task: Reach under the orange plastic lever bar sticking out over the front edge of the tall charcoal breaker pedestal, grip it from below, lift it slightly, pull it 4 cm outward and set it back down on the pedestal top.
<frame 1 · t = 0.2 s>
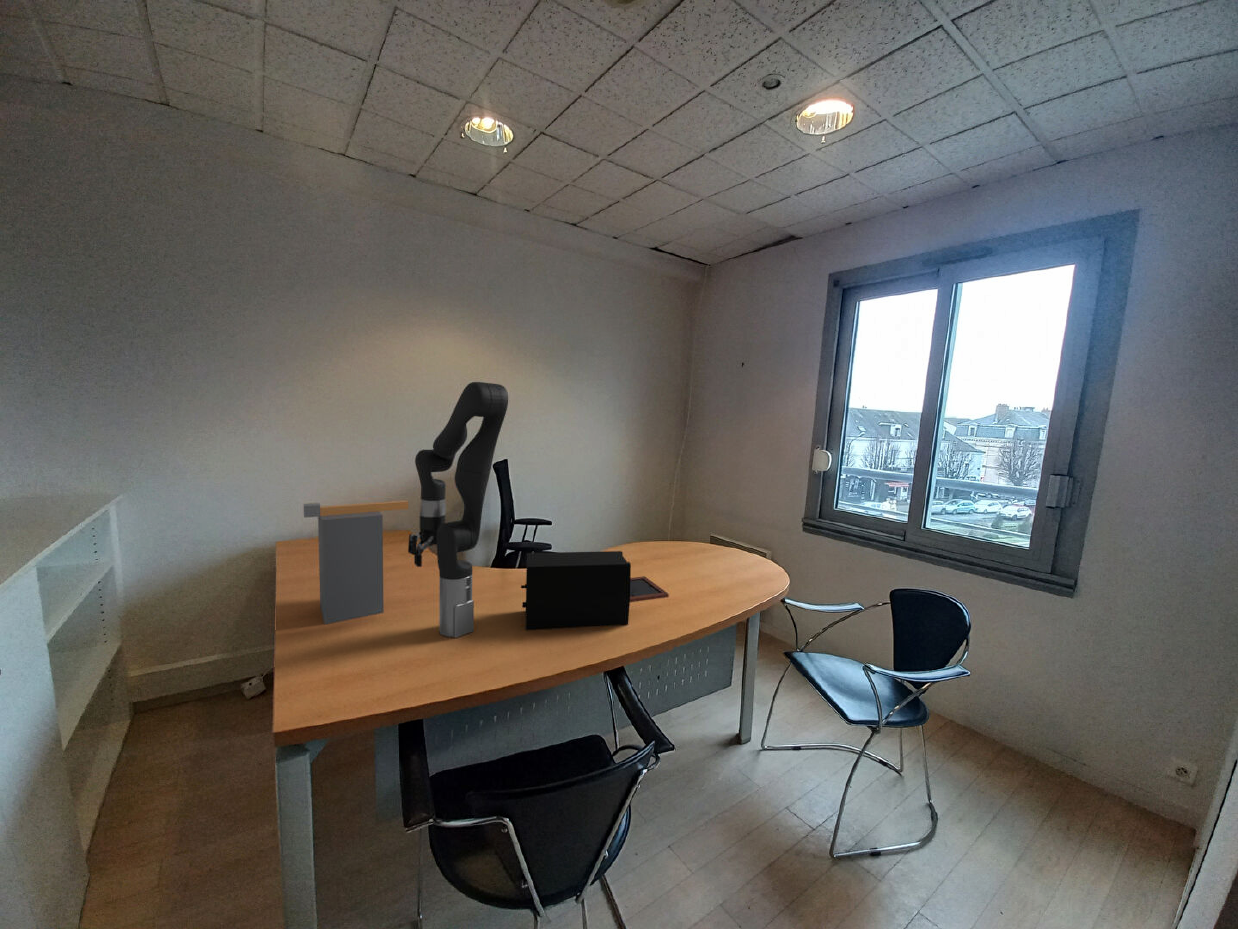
hand: (431, 563, 142), 18 cm above the table, tool pointing down, fingers open, 8 cm apart
picture frame: (627, 593, 172), on the table
breaker pedestal: (351, 609, 146), on the table
lever bar: (358, 512, 145), point 32 cm above the table, touching breaker pedestal
uninterruptible power supply: (573, 618, 147), on the table
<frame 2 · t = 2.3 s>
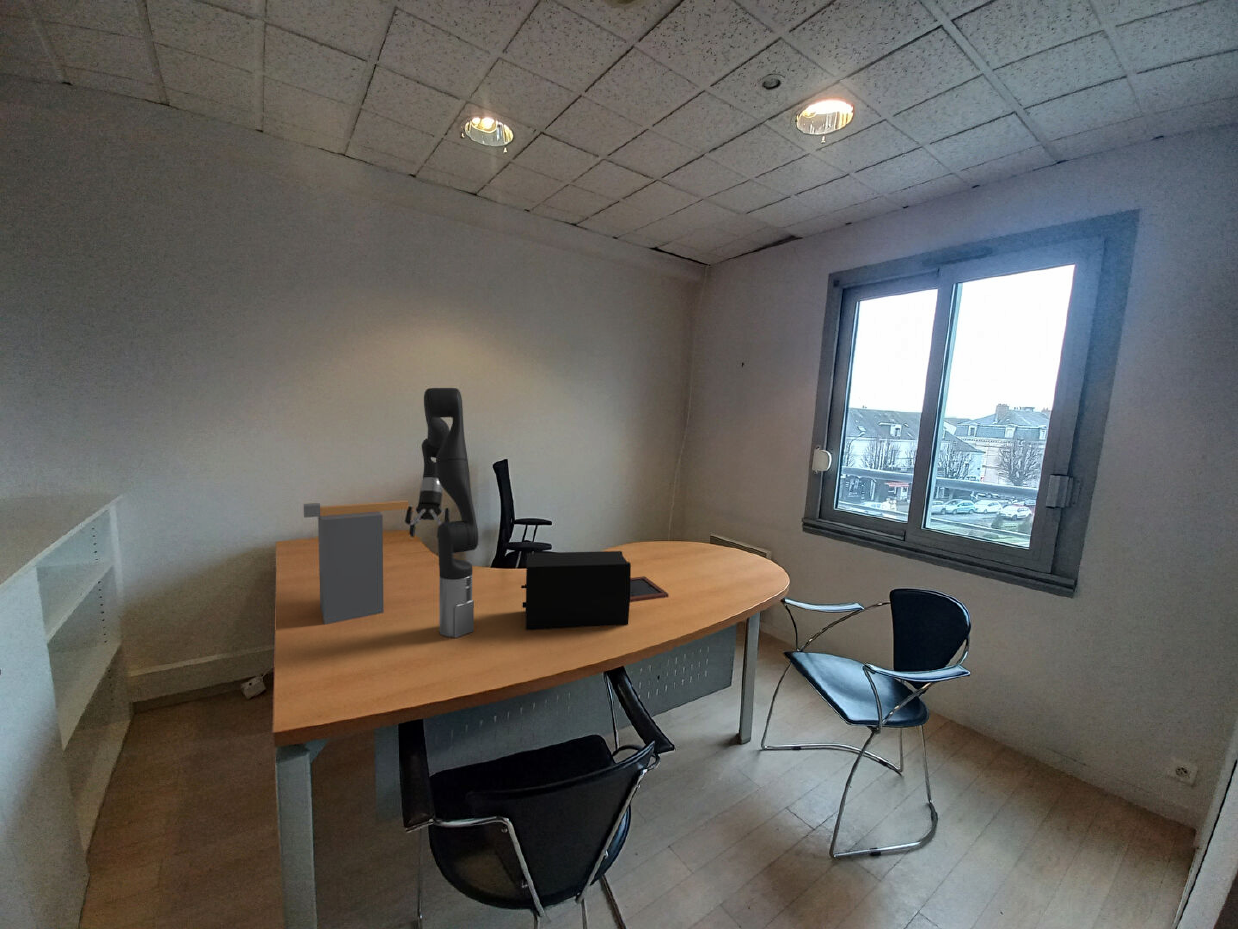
hand: (425, 537, 157), 22 cm above the table, tool tilted 20°, fingers open, 8 cm apart
nothing on the table moved.
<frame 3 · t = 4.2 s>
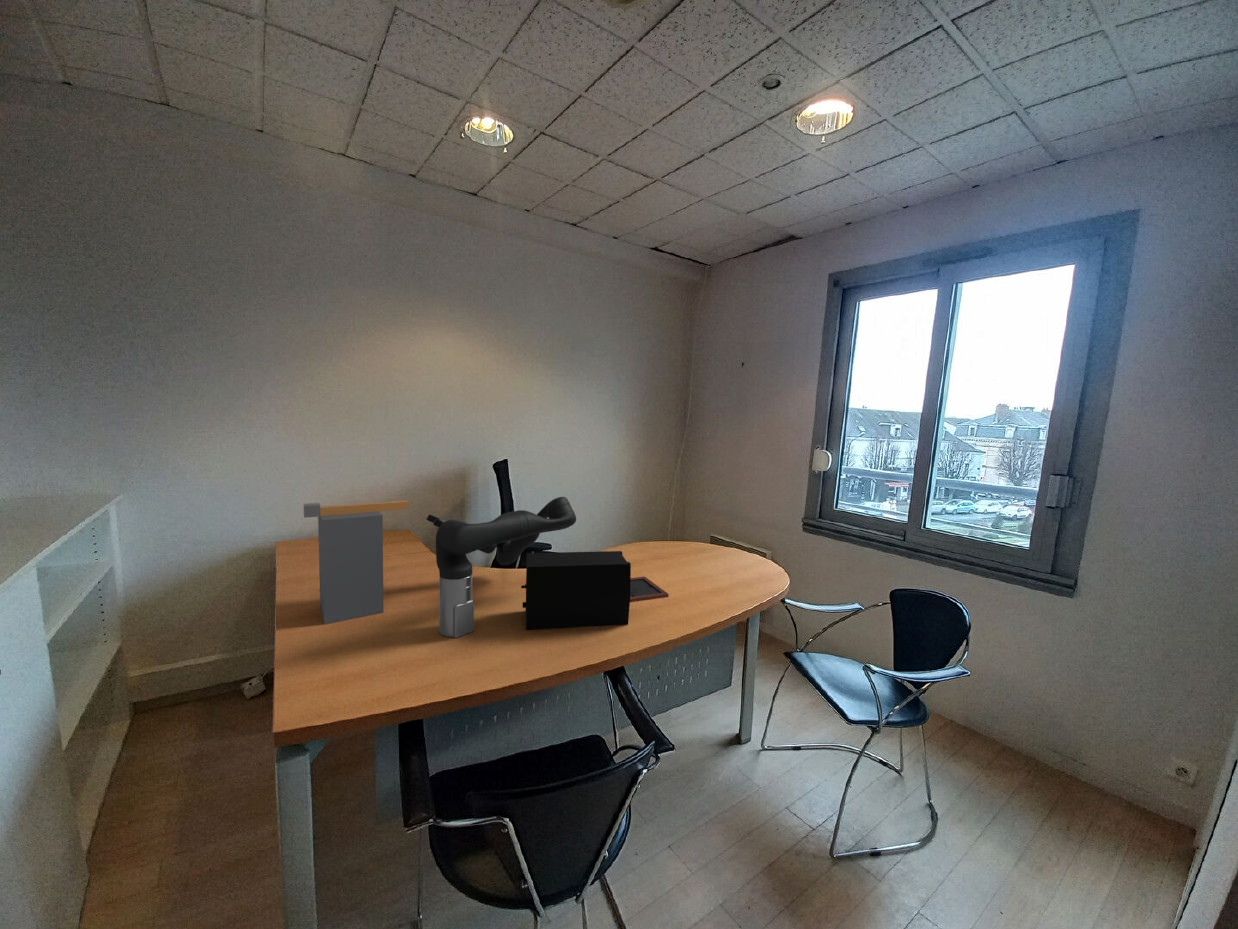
hand: (431, 519, 159), 27 cm above the table, tool pointing upward, fingers open, 8 cm apart
nothing on the table moved.
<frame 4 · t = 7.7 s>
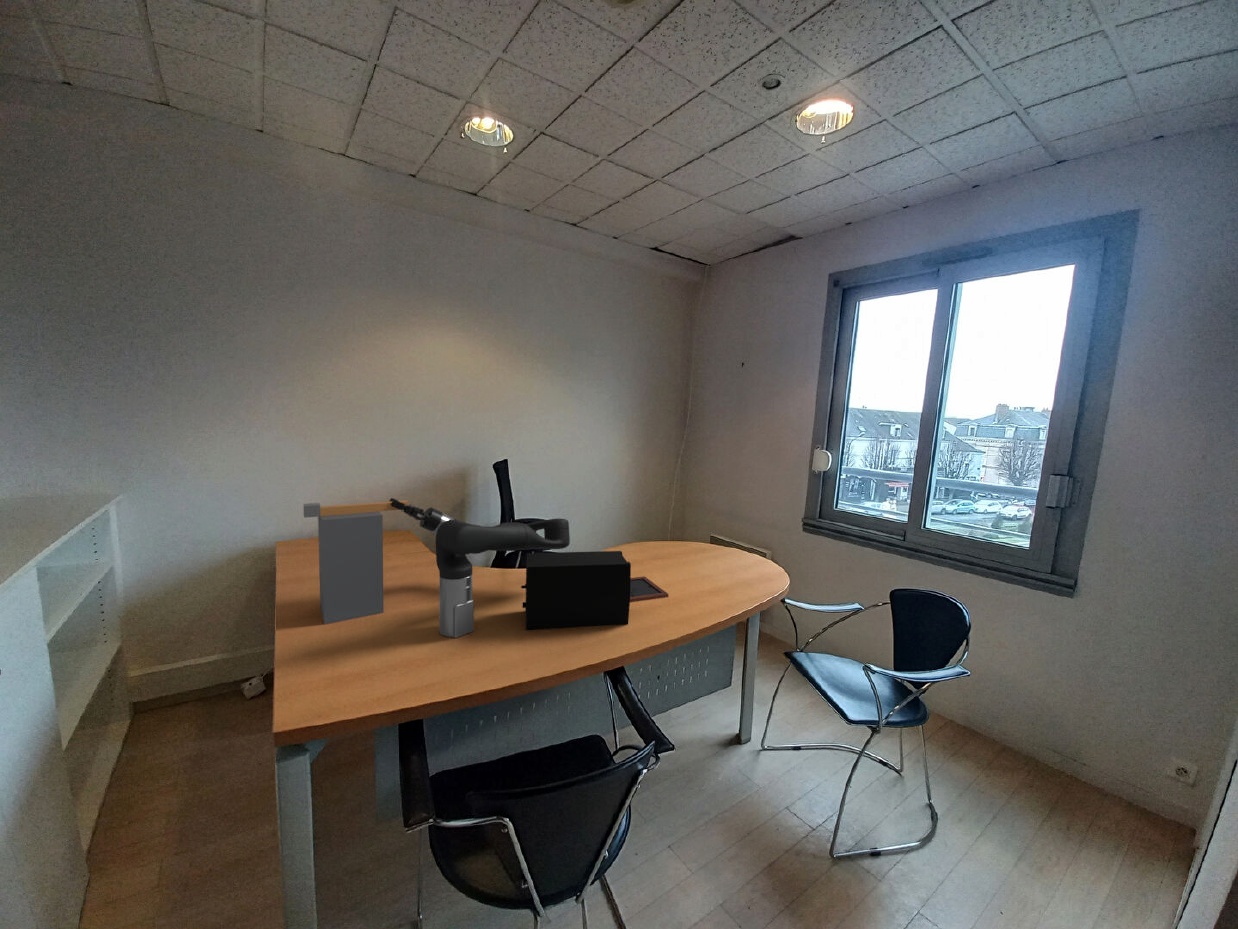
hand: (391, 501, 151), 35 cm above the table, tool pointing upward, fingers closed on lever bar, 3 cm apart
lever bar: (358, 512, 145), point 32 cm above the table, touching breaker pedestal, gripper
everything else where it was.
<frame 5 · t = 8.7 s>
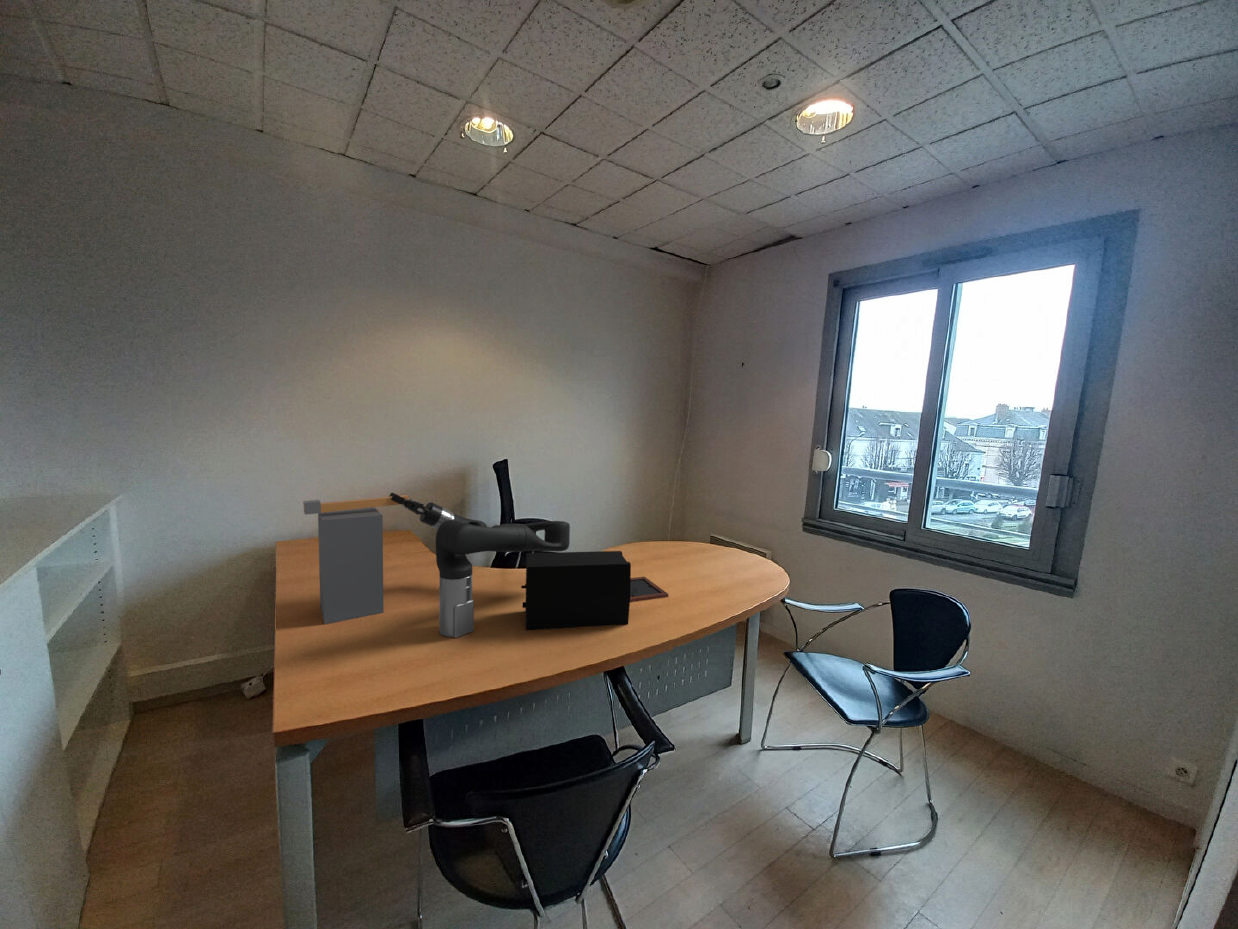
hand: (391, 496, 150), 37 cm above the table, tool pointing upward, fingers closed on lever bar, 3 cm apart
lever bar: (359, 507, 144), point 34 cm above the table, touching gripper
everything else where it was.
when the fingers open (36 cm above the table, at t = 10.1 s): lever bar stays where it is, resting on breaker pedestal.
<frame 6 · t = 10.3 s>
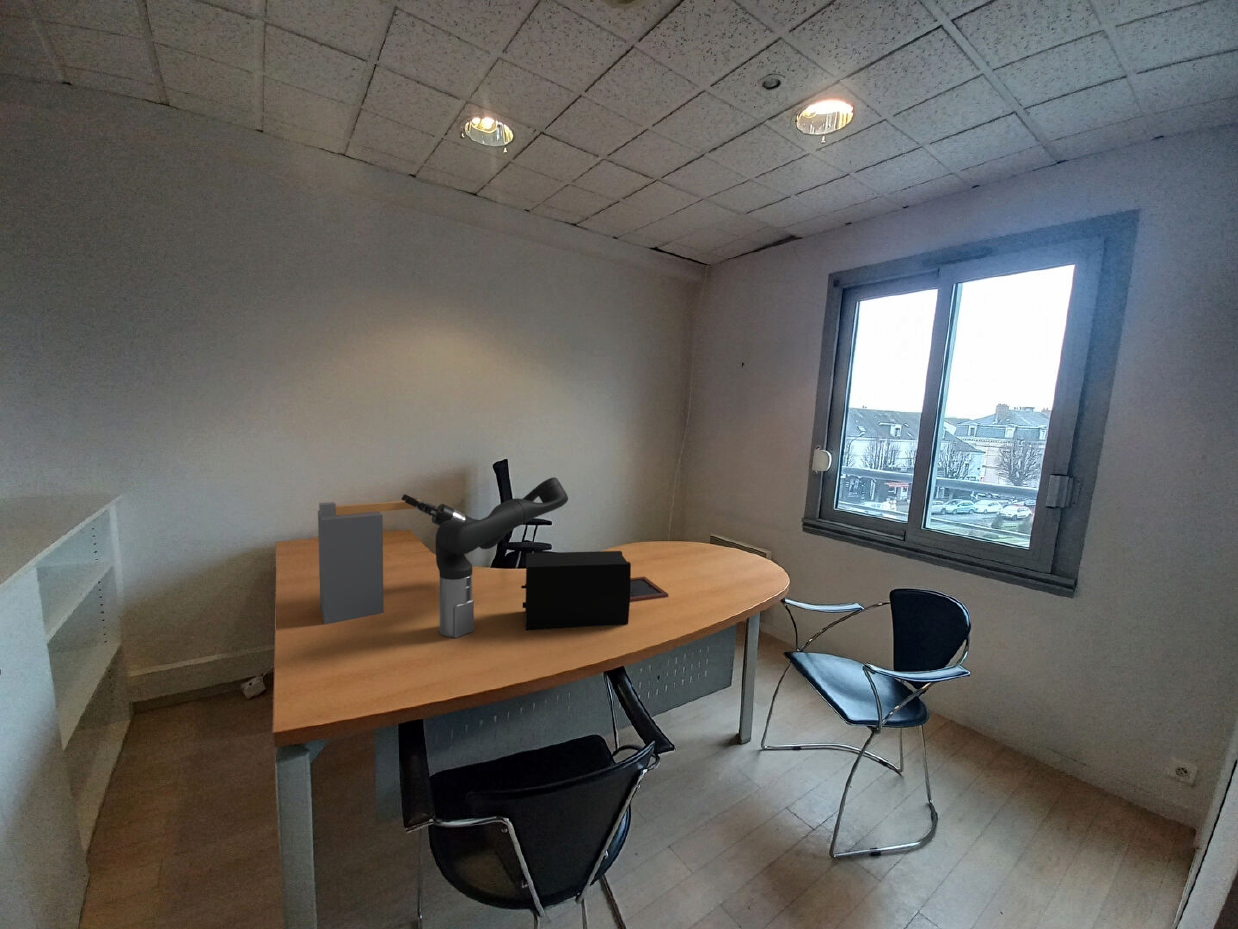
hand: (404, 498, 153), 36 cm above the table, tool pointing upward, fingers open, 4 cm apart
lever bar: (372, 511, 147), point 32 cm above the table, touching breaker pedestal
everything else where it was.
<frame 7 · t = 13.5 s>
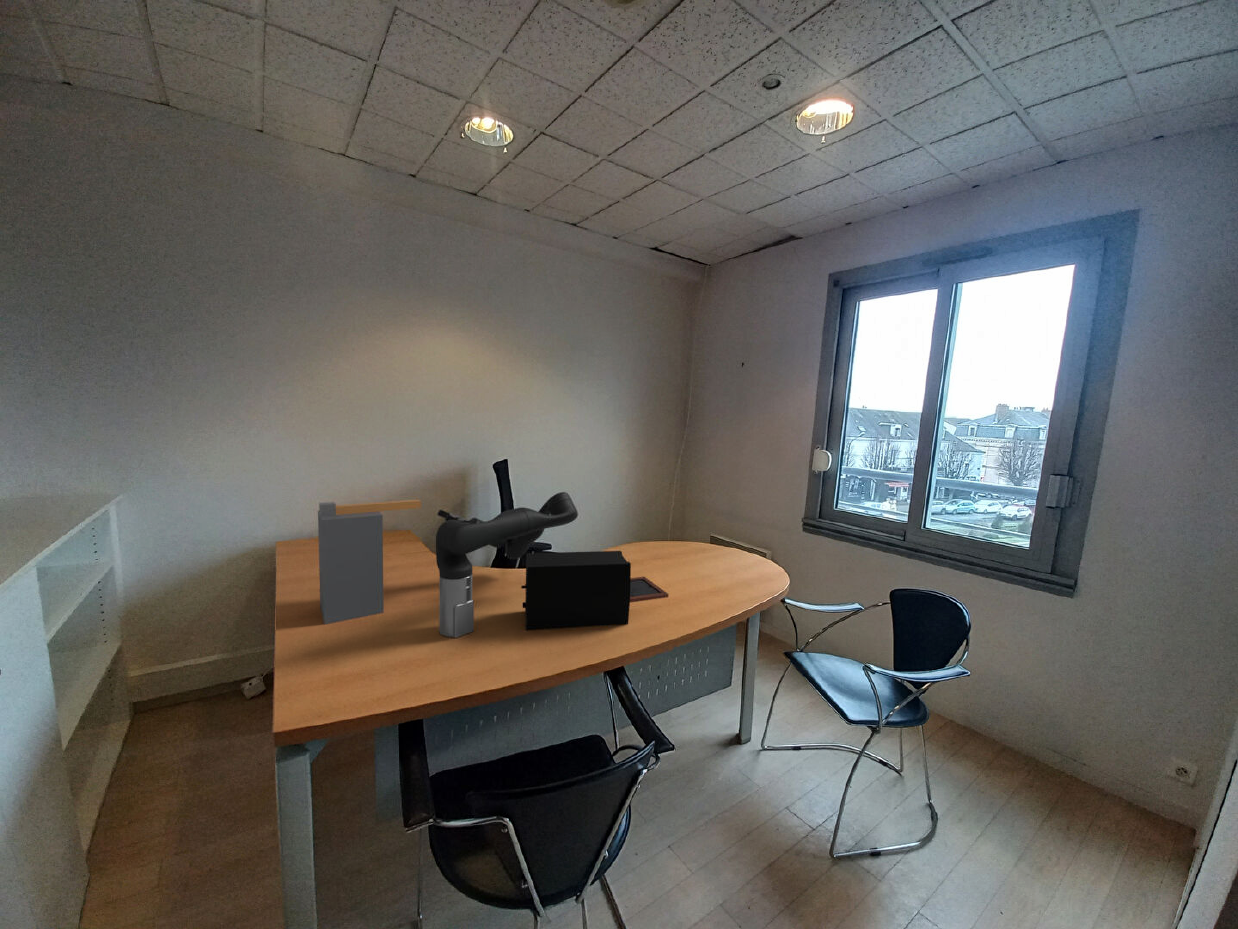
hand: (442, 514, 161), 29 cm above the table, tool pointing upward, fingers open, 8 cm apart
nothing on the table moved.
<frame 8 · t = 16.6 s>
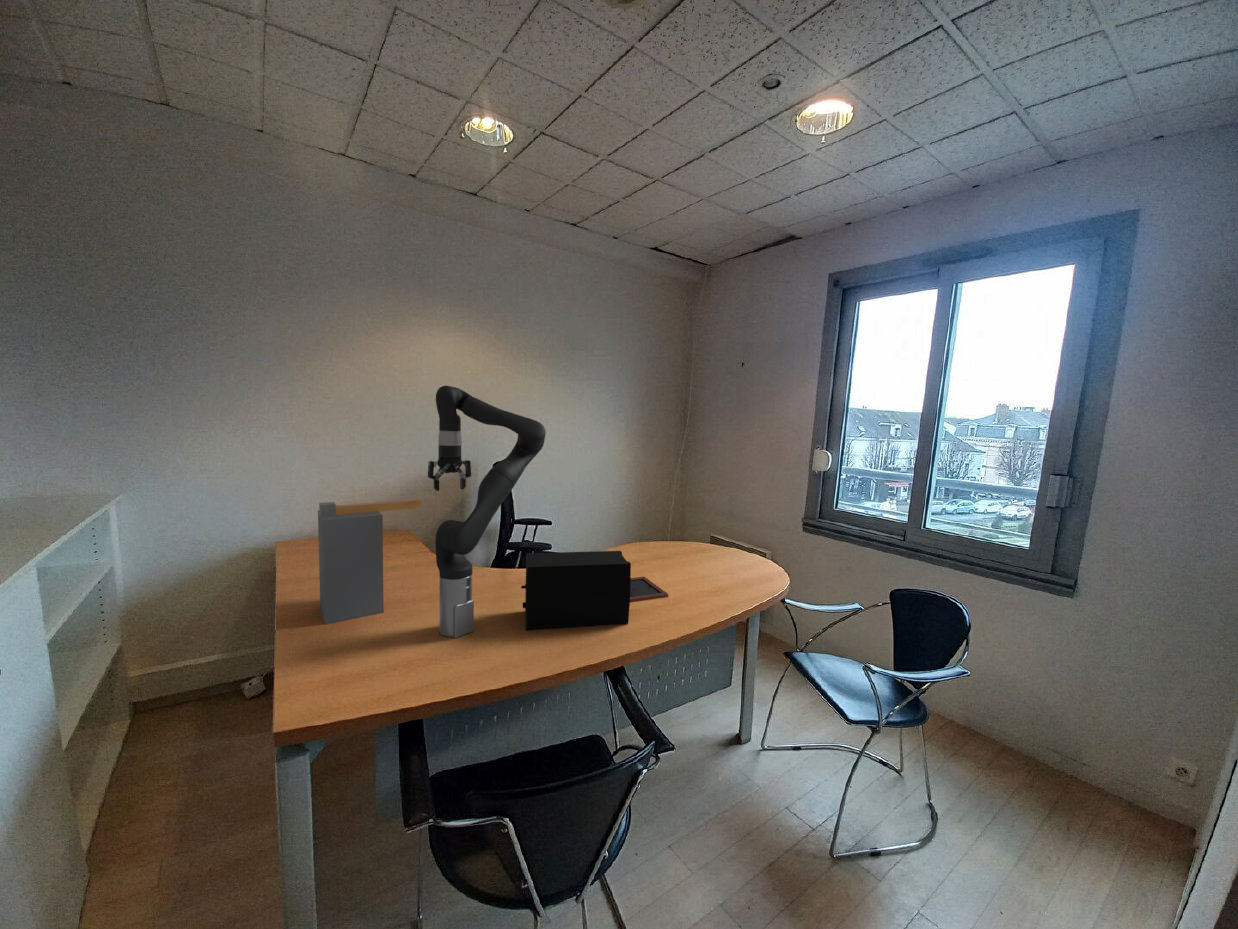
hand: (449, 489, 158), 38 cm above the table, tool pointing down, fingers open, 8 cm apart
nothing on the table moved.
at the end: lever bar moved 4.0 cm from its start; lever bar 0.1 cm from the target spot, point 32.0 cm above the table; the gripper is holding nothing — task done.
